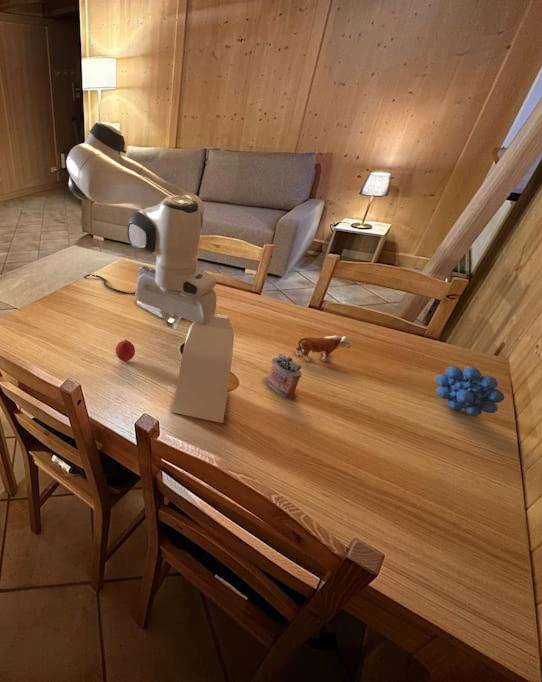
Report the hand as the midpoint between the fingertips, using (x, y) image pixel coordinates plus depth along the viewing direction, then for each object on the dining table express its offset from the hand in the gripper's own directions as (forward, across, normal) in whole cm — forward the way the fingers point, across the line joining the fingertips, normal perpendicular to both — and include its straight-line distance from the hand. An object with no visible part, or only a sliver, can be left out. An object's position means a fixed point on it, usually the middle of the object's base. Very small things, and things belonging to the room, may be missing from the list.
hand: (170, 326), depth 88 cm
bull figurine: (+19, +26, +38) cm, 50 cm away
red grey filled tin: (+19, +23, +18) cm, 35 cm away
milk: (+19, +10, 0) cm, 22 cm away
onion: (+19, -16, +1) cm, 25 cm away
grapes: (+19, +56, +37) cm, 70 cm away
